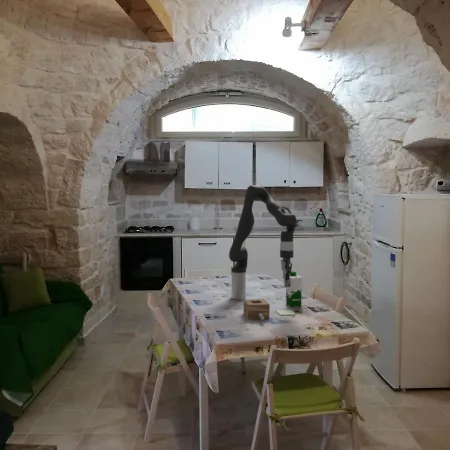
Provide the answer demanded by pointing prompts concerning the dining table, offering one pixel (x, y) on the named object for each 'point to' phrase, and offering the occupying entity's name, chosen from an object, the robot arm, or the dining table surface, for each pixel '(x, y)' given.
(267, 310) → the brown wooden block
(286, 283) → the key peg
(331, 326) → the dining table surface
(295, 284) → the milk carton
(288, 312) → the pad
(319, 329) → the dining table surface
